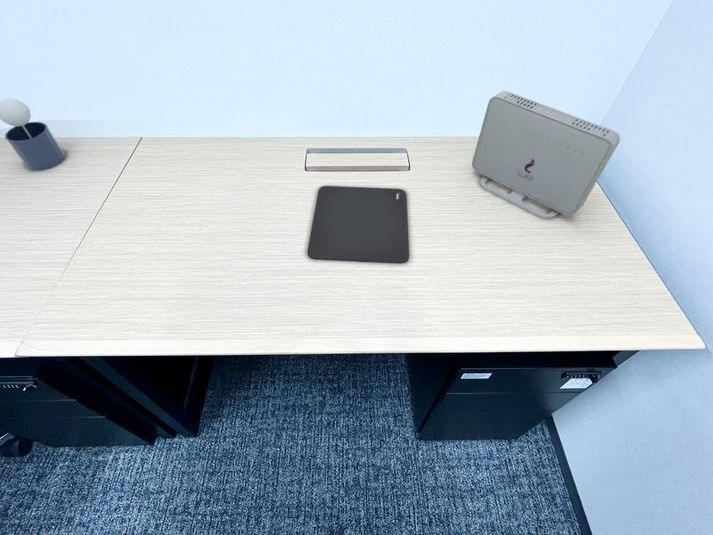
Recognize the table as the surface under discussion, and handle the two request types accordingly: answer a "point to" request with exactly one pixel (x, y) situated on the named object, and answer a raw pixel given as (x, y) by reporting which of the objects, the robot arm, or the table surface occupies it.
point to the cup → (35, 146)
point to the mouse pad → (360, 225)
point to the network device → (541, 154)
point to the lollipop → (15, 113)
